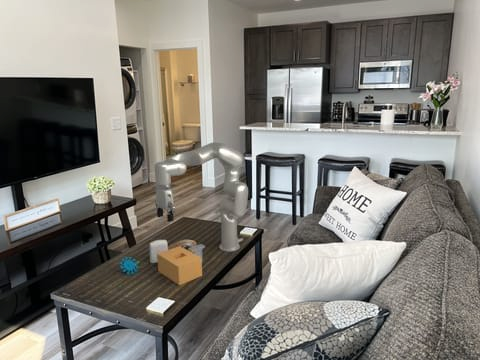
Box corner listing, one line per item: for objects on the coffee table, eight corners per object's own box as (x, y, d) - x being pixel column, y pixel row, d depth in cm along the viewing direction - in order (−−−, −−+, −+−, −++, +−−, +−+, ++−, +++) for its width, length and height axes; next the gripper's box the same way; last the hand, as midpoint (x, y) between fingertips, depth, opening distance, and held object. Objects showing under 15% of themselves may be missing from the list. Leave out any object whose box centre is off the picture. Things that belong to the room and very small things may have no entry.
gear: (124, 275, 183) (117, 258, 186) (119, 280, 186) (113, 263, 190) (143, 270, 191) (136, 254, 195) (138, 275, 194) (132, 259, 198)
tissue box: (180, 262, 200) (179, 246, 197) (202, 275, 185) (201, 257, 183) (158, 271, 190) (157, 253, 188) (179, 285, 176) (178, 266, 174)
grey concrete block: (201, 258, 204) (201, 243, 202) (205, 260, 202) (204, 245, 200) (188, 263, 198) (187, 248, 196) (192, 266, 196) (191, 250, 194)
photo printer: (167, 257, 206) (166, 237, 203) (169, 260, 203) (168, 240, 200) (149, 261, 202) (148, 240, 199) (151, 264, 198) (149, 243, 195)
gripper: (179, 188, 175) (181, 221, 179) (161, 182, 187) (162, 213, 191) (166, 191, 170) (168, 225, 174) (148, 184, 182) (150, 216, 187)
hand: (165, 219), depth 183 cm, fingers open, 9 cm apart
